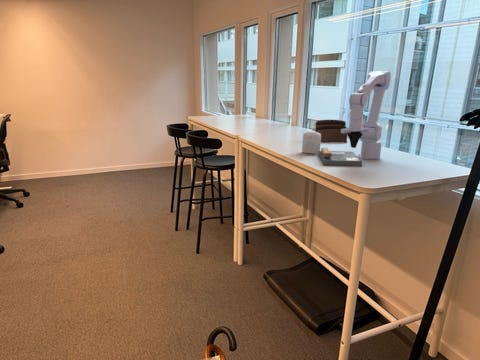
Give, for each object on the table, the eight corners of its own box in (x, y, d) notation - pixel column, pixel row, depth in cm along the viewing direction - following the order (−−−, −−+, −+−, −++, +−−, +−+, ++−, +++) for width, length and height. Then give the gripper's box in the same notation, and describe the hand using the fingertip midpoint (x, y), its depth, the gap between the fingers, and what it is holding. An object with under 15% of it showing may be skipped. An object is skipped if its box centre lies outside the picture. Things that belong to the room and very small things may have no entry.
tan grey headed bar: (320, 151, 181) (320, 147, 181) (327, 151, 181) (327, 147, 180) (324, 157, 167) (324, 153, 167) (331, 157, 167) (331, 153, 166)
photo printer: (321, 153, 189) (322, 131, 186) (318, 155, 186) (319, 132, 182) (303, 151, 195) (305, 130, 191) (300, 152, 191) (302, 131, 188)
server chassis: (352, 156, 183) (352, 151, 182) (361, 166, 162) (362, 160, 161) (318, 155, 185) (318, 150, 184) (323, 165, 164) (324, 160, 163)
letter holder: (314, 139, 232) (315, 119, 228) (344, 140, 230) (345, 119, 226) (316, 142, 223) (317, 121, 219) (346, 143, 221) (348, 121, 217)
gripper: (363, 117, 165) (360, 144, 169) (338, 118, 161) (335, 146, 165) (373, 119, 159) (370, 147, 163) (346, 120, 154) (344, 149, 158)
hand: (353, 147), depth 163 cm, fingers closed
